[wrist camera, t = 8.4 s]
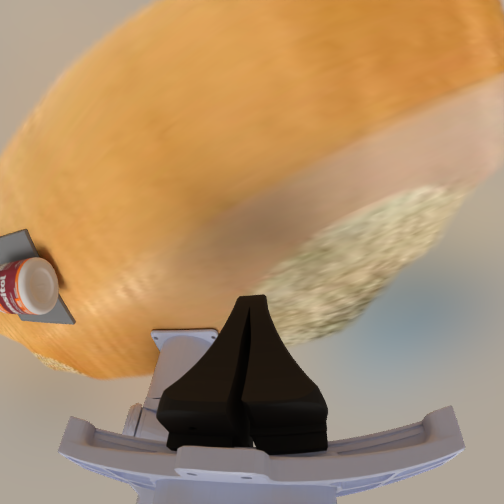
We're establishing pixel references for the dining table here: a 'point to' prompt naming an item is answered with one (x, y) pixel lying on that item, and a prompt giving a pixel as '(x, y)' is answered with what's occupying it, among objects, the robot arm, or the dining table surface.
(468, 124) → the dining table surface
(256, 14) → the dining table surface
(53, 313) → the mat
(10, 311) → the pill bottle
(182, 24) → the dining table surface
